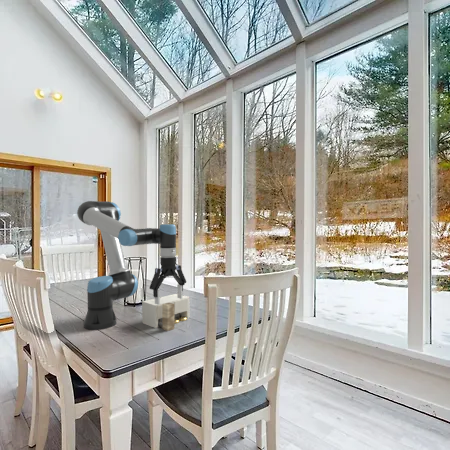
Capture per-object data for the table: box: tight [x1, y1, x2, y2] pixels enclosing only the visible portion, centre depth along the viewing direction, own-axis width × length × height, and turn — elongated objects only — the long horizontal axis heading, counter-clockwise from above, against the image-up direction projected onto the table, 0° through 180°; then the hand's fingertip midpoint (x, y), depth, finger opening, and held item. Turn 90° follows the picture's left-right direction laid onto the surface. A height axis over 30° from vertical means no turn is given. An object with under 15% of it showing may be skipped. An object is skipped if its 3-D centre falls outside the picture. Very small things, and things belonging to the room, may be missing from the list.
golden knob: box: [174, 318, 180, 325], centre depth 163 cm, size 4×4×1 cm
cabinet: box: [141, 293, 191, 329], centre depth 165 cm, size 22×11×11 cm, turn 138°
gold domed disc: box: [178, 316, 188, 322], centre depth 167 cm, size 4×4×1 cm
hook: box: [158, 303, 181, 332], centre depth 160 cm, size 17×12×12 cm
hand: (168, 301), depth 152 cm, fingers open, 13 cm apart
